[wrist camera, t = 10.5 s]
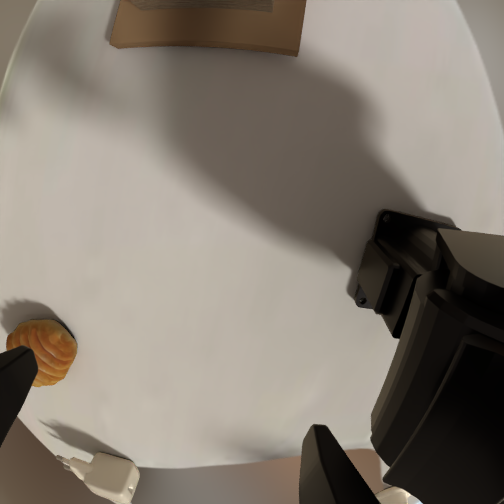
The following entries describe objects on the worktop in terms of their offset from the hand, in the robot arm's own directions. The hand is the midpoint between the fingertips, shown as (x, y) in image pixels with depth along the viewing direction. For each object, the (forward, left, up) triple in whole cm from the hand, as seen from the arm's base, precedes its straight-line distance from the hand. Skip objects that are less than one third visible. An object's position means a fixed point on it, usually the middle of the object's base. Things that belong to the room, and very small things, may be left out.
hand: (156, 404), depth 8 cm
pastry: (+16, +12, -12) cm, 24 cm away
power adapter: (+13, +32, -12) cm, 36 cm away
